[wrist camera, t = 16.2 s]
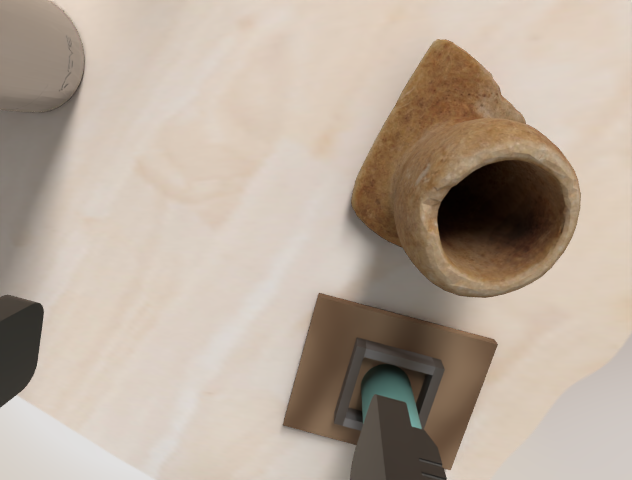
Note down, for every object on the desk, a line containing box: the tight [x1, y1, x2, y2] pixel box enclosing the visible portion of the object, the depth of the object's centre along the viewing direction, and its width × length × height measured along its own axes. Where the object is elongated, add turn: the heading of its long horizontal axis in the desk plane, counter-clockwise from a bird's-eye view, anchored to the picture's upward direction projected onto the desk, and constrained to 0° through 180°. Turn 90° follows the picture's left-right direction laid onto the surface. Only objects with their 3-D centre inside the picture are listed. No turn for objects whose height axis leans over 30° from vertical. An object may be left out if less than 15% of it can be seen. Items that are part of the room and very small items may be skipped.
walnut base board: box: [283, 293, 498, 470], centre depth 42 cm, size 16×13×3 cm
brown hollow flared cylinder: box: [351, 39, 581, 298], centre depth 32 cm, size 15×12×15 cm
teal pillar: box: [361, 364, 422, 429], centre depth 36 cm, size 4×4×14 cm
